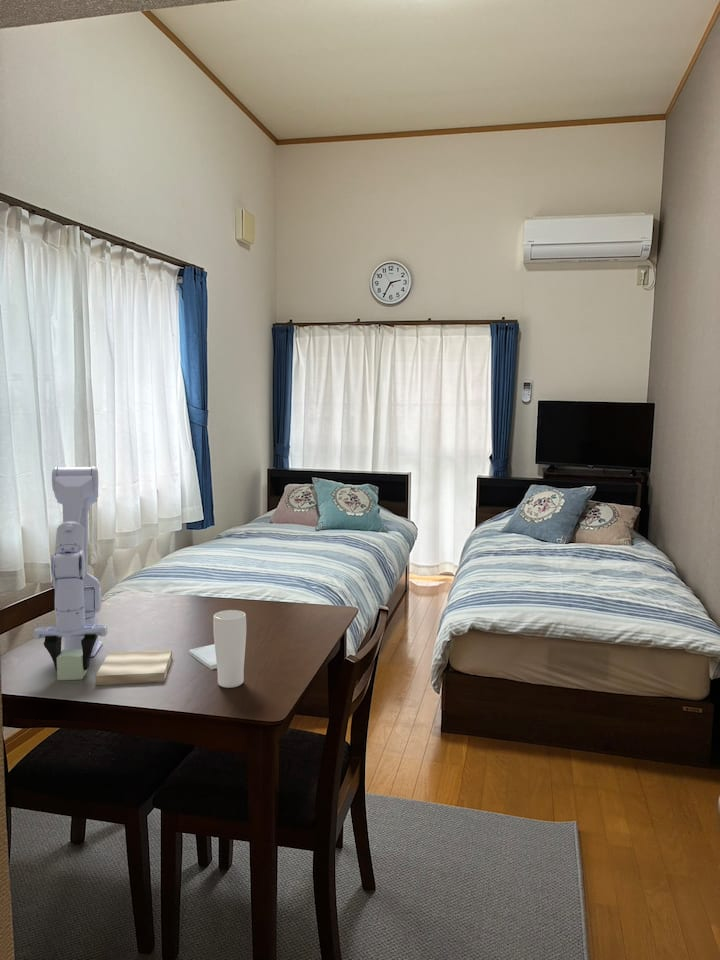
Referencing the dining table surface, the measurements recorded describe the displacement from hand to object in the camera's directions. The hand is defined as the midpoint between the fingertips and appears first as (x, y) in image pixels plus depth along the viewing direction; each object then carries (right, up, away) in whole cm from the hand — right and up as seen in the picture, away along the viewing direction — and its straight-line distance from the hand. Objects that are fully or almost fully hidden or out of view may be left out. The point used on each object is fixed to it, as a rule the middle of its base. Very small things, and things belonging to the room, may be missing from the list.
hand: (72, 669), depth 151 cm
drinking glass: (+35, -2, -4) cm, 35 cm away
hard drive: (+29, -1, +12) cm, 31 cm away
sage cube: (0, -1, 0) cm, 1 cm away
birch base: (+13, -1, +3) cm, 13 cm away
